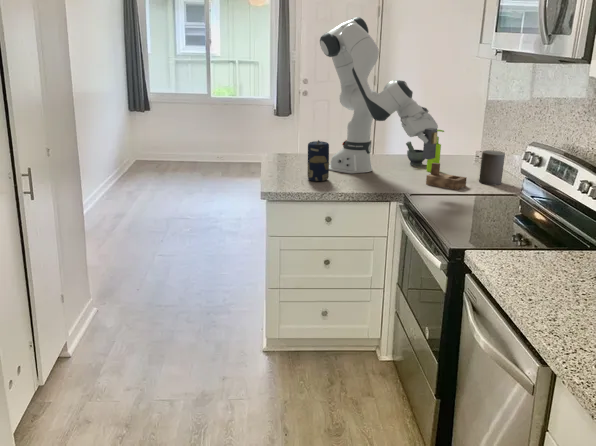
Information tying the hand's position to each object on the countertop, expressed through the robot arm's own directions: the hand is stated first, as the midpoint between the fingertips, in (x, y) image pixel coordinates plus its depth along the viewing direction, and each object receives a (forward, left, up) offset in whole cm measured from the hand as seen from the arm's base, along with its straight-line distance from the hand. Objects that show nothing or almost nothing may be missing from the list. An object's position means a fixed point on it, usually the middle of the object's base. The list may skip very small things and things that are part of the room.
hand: (431, 141), depth 241 cm
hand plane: (+4, +16, -21) cm, 27 cm away
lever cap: (-1, 0, -7) cm, 7 cm away
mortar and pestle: (-19, +53, -22) cm, 60 cm away
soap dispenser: (-7, +42, -22) cm, 48 cm away
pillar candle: (+21, +30, -22) cm, 43 cm away
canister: (-50, 0, -22) cm, 54 cm away
